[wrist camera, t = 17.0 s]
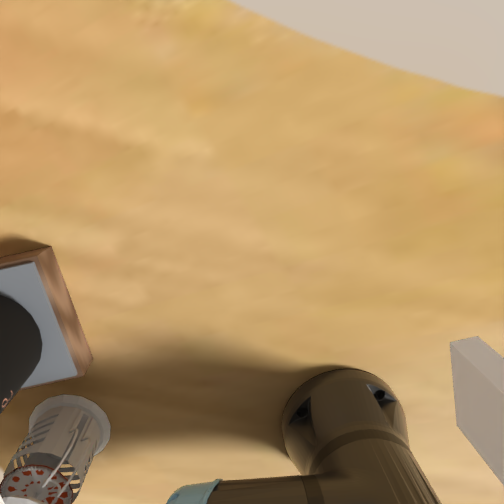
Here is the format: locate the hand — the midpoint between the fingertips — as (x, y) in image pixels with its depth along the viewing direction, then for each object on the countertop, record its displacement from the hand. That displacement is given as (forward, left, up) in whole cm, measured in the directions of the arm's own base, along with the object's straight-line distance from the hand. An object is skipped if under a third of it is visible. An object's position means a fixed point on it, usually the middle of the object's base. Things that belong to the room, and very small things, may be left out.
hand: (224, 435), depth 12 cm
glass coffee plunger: (-22, +24, -35) cm, 48 cm away
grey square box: (-7, +26, -35) cm, 44 cm away
